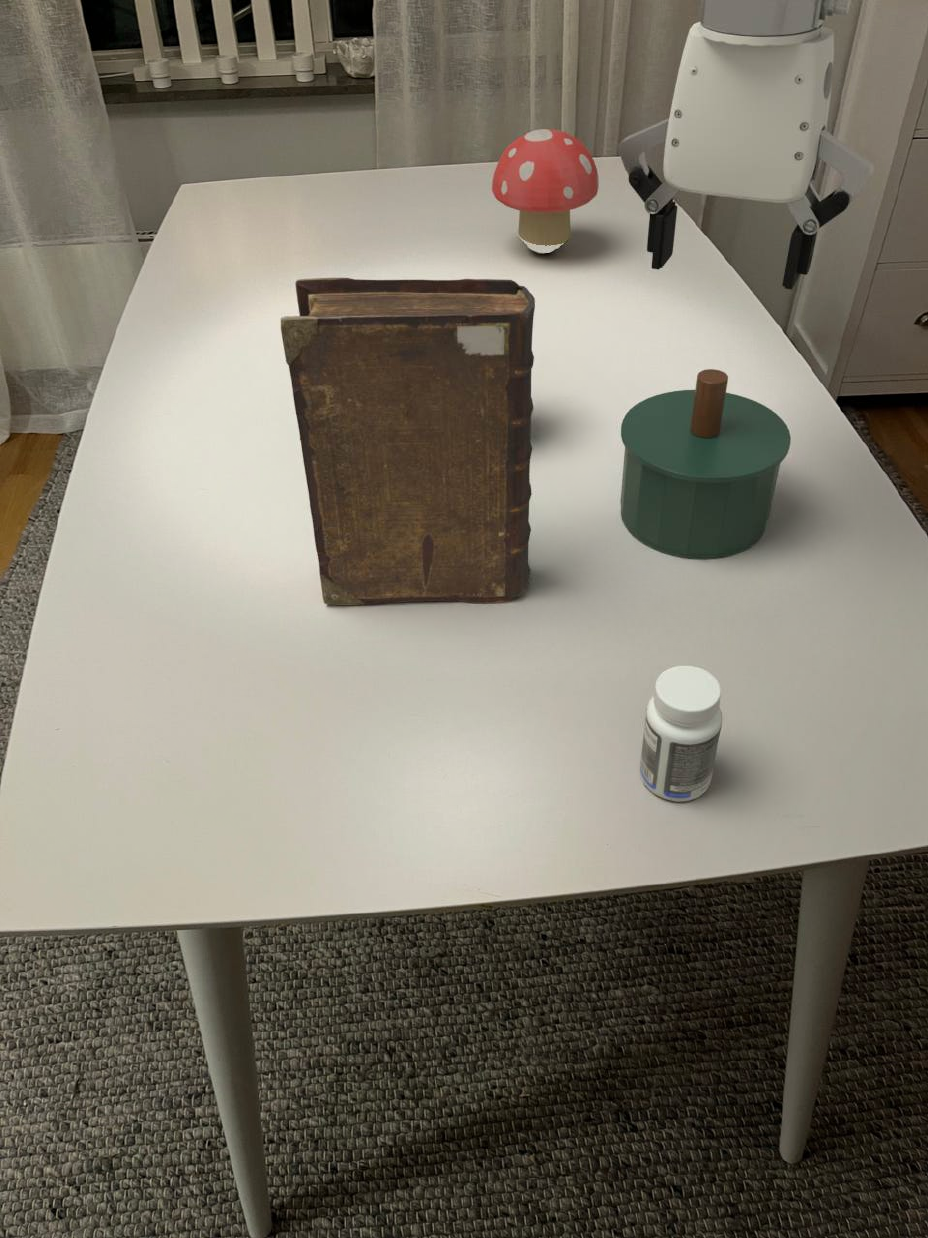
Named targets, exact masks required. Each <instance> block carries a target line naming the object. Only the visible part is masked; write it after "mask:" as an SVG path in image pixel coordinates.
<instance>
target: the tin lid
mask: <svg viewBox="0 0 928 1238" xmlns="http://www.w3.org/2000/svg"><path fill="white" fill-rule="evenodd" d="M728 381H729V376H728V374H727V373H726V372H725V371H723V370H719V369H714V368H708V369H707V368H706V369H703V370H701V371H699V372H698V373H697V376H696V381H695V389H682V390H673V391H667V392H662V393H659V394H655V395H653V396H651V397H648V398H646V399H643V400H641V401H639V402H638V403H637V404H635V405H633V406H632V407H631V408H630V409H629V410H628V411H627V413H626V414H625V415H624V417H623V419H622V421H621V426H620V438H621V442H622V444H623V446H624V449H625V448H626V449H627V450H628V452H629V453H630V454H631V455H632V456H633V457H634V458H635V459H636V460H638V461H639V462H640V463H642V464H643V465H645V466H647V467H649V468H651V469H653V470H655V471H657V472H659V473H662V474H665V475H668V476H671V477H675V478H679V479H684V480H689V481H696V482H709V483H722V482H734V481H741V480H746V479H750V478H753V477H757V476H759V475H762V474H764V473H767V472H768V471H770V470H772V469H774V468H775V467H776V466H777V465H779V464H780V465H781V463H782V462H783V461H784V460H785V459H786V457H787V455H788V453H789V450H790V447H791V441H792V440H791V432H790V429H789V428H788V425H787V424H786V423H785V421H784V420H783V419H782V418H781V417H780V416H779V415H778V414H777V413H776V412H775V411H773V410H772V409H771V408H769V407H767V405H764V404H762V403H760V402H758V401H756V400H754V399H750V398H748V397H745V396H742V395H738V394H735V393H730V392H727V389H728V388H727V387H728Z"/></svg>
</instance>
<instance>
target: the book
mask: <svg viewBox="0 0 928 1238" xmlns="http://www.w3.org/2000/svg"><path fill="white" fill-rule="evenodd" d="M294 285H295V292H296V301H297V306H298V315H289V316H288V315H287V316H281V317H280V332H281V338H282V339H281V340H282V345H283V351H284V357H285V363H286V364H287V365H288V371H289V376H290V382H291V388H292V389H291V390H292V397H293V403H294V411H295V415H296V419H297V427H298V433H299V440H300V447H301V453H302V461H303V467H304V473H305V479H306V485H307V492H308V499H309V508H310V514H311V520H312V527H313V528H312V529H313V535H314V536H313V537H314V543H315V550H316V553H317V560H318V561H317V562H318V568H319V569H318V570H319V581H320V587H321V595H322V600H323V604H325V605H337V606H340V605H341V606H355V605H377V604H384V603H385V604H386V603H387V604H388V603H407V602H437V601H438V602H439V601H441V602H444V601H445V602H446V601H448V602H449V601H451V602H452V601H455V602H467V603H472V604H473V603H476V604H482V603H483V604H486V603H489V604H490V603H491V604H494V603H508V602H510V601H512V599H514V598H518V597H521V596H522V594H523V593H524V592H526V589H527V587H528V585H529V582H530V579H531V567H530V564H529V542H530V538H531V531H532V527H531V524H530V501H531V497H532V494H533V493H532V486H531V481H530V477H531V476H530V474H531V473H530V472H531V471H530V470H531V457H532V453H533V445H532V442H531V433H532V432H531V431H532V428H531V427H532V415H533V410H534V402H533V397H532V370H533V369H532V368H533V367H534V362H535V361H534V360H535V356H534V353H533V330H534V329H533V328H534V316H535V309H536V299H535V297H534V295H533V294H532V293H531V292H530V290H528V288H527V287H526V286H524V285H519V283H517V282H516V281H515V280H513V279H500V278H499V279H496V278H495V279H492V278H478V279H477V278H462V279H359V278H358V279H357V278H356V279H354V278H352V277H351V278H350V277H315V278H313V277H312V278H300V279H296V281H295V284H294Z"/></svg>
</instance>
